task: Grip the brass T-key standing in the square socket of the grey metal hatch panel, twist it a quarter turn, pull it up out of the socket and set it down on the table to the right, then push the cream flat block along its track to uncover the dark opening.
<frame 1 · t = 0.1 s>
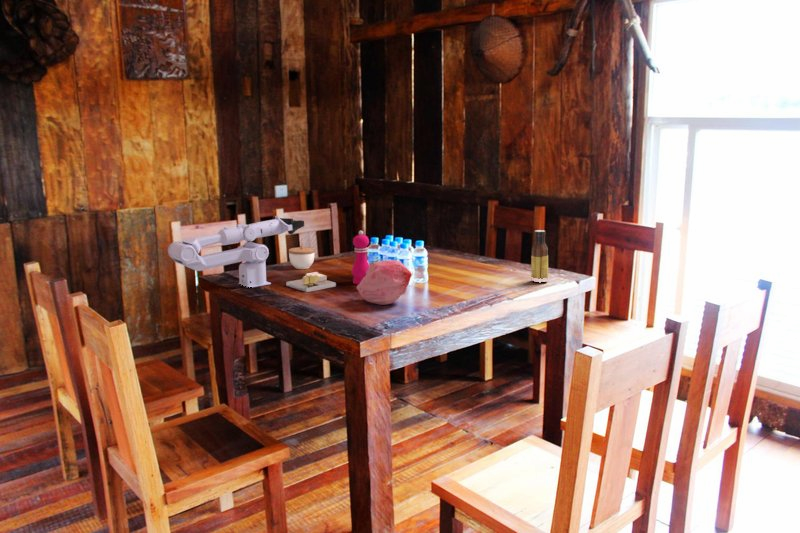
hand: (298, 222, 265), 22 cm above the table, tool horizontal, fingers open, 7 cm apart
panel: (311, 286, 254), on the table
cream flat block: (315, 277, 256), point 3 cm above the table, slide at 0.0 cm
pepper mill: (361, 283, 260), on the table
lidded jar: (302, 268, 286), on the table
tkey: (310, 288, 250), resting on panel
decorative rock: (383, 303, 231), on the table
sauce bottle: (538, 282, 262), on the table
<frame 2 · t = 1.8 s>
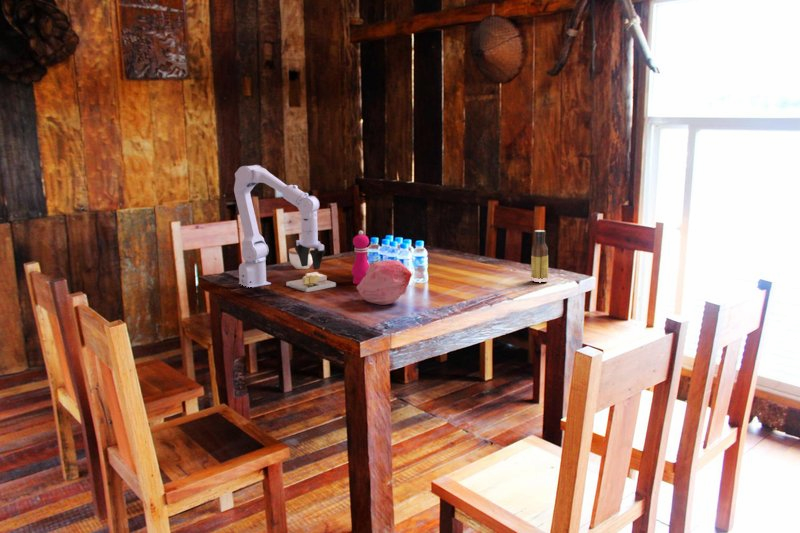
hand: (310, 267, 248), 8 cm above the table, tool pointing down, fingers open, 7 cm apart
nothing on the table moved.
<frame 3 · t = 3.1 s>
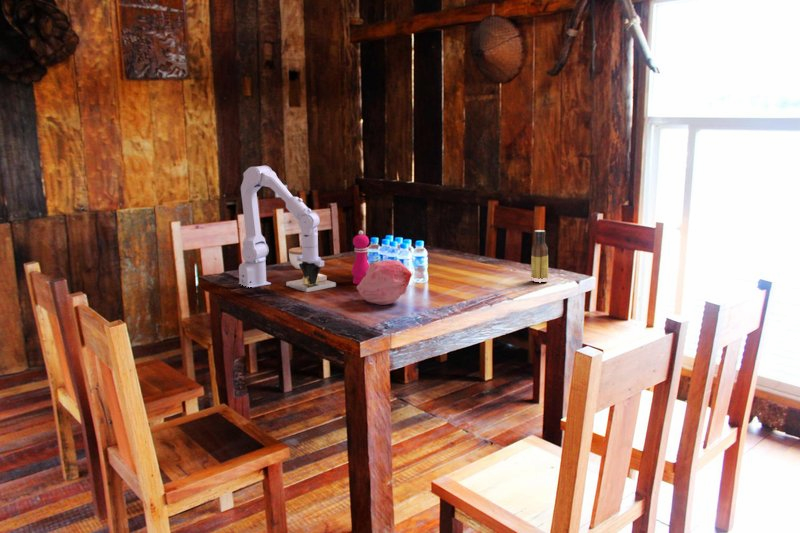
hand: (310, 283, 249), 2 cm above the table, tool pointing down, fingers closed on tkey, 2 cm apart
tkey: (310, 288, 250), resting on panel, touching gripper
everything else where it was.
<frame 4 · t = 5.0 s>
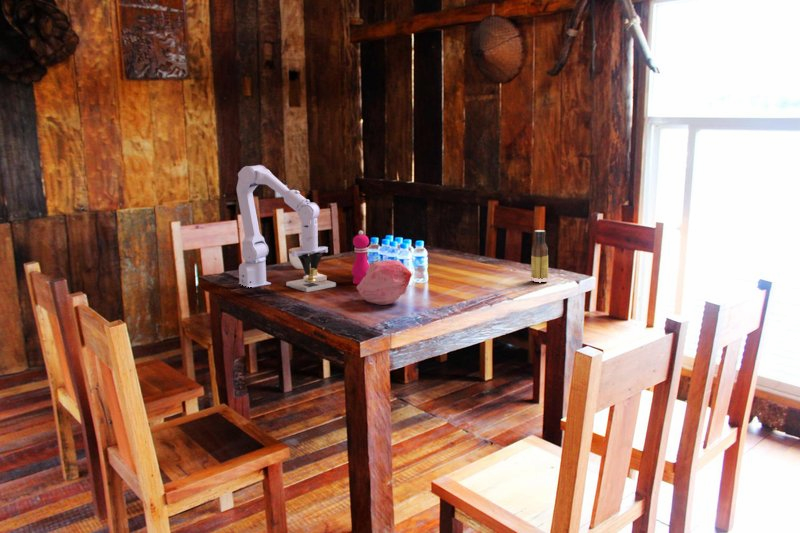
hand: (310, 273, 248), 6 cm above the table, tool pointing down, fingers closed on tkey, 2 cm apart
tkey: (310, 280, 249), point 3 cm above the table, touching gripper
everything else where it was.
when the fingers open (3 cm above the table, at t = 7.0 s): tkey stays where it is, on the table.
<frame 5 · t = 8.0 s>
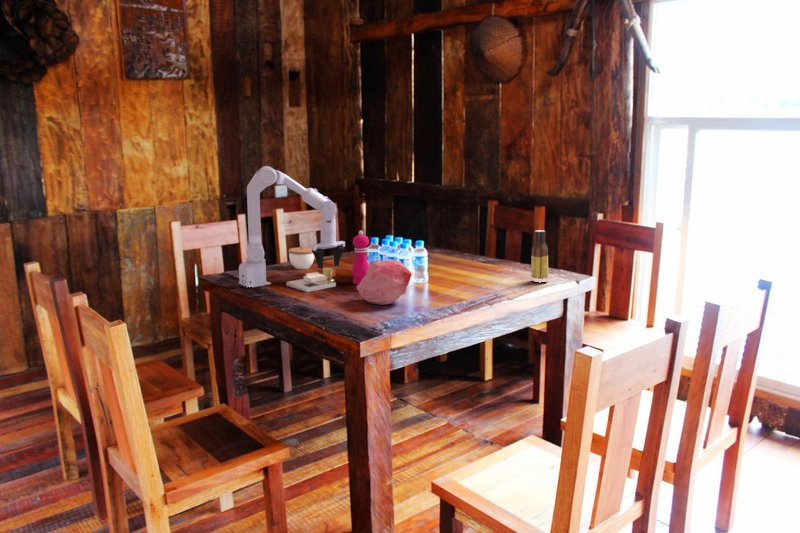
hand: (328, 267, 262), 5 cm above the table, tool pointing down, fingers open, 7 cm apart
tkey: (329, 280, 263), on the table
everything else where it was.
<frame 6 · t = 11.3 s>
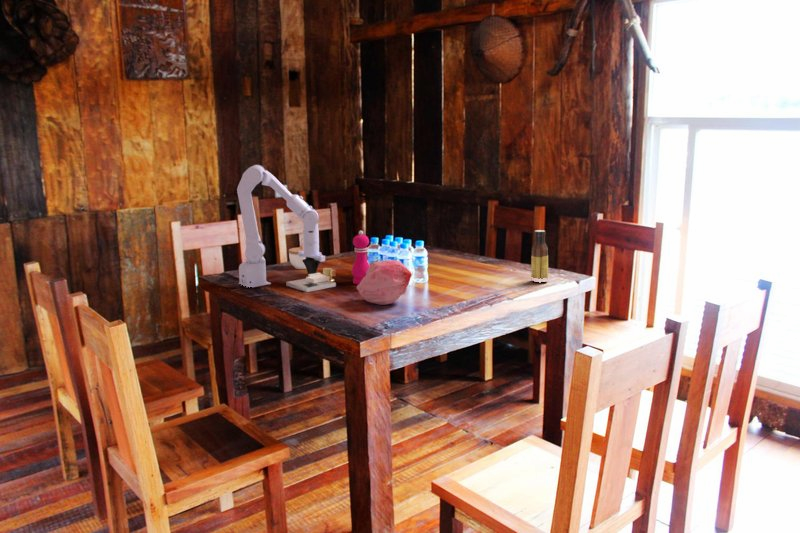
hand: (312, 277, 258), 2 cm above the table, tool pointing down, fingers closed
cream flat block: (317, 277, 255), point 3 cm above the table, slide at 1.6 cm, touching gripper
everything else where it was.
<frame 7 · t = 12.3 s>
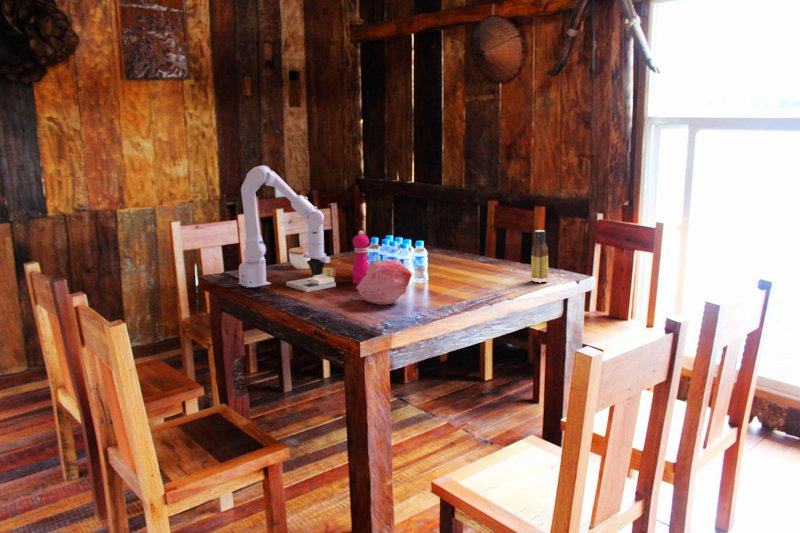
hand: (316, 279, 256), 2 cm above the table, tool pointing down, fingers closed
cream flat block: (322, 279, 253), point 3 cm above the table, slide at 4.7 cm, touching gripper
everything else where it was.
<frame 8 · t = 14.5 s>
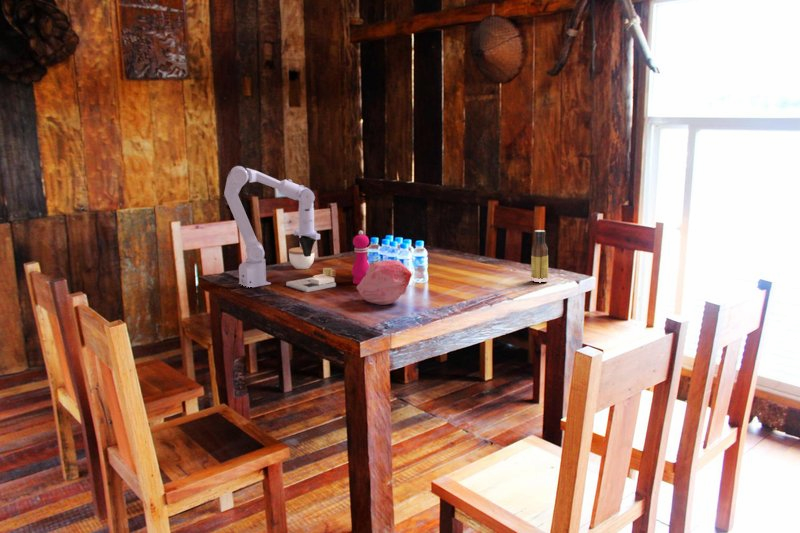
hand: (307, 256, 259), 10 cm above the table, tool pointing down, fingers closed
cream flat block: (322, 279, 253), point 3 cm above the table, slide at 4.7 cm
everything else where it was.
at the end: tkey inside the target area (0.2 cm from its centre), on the table; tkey touching table; cream flat block slide at 4.7 cm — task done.
